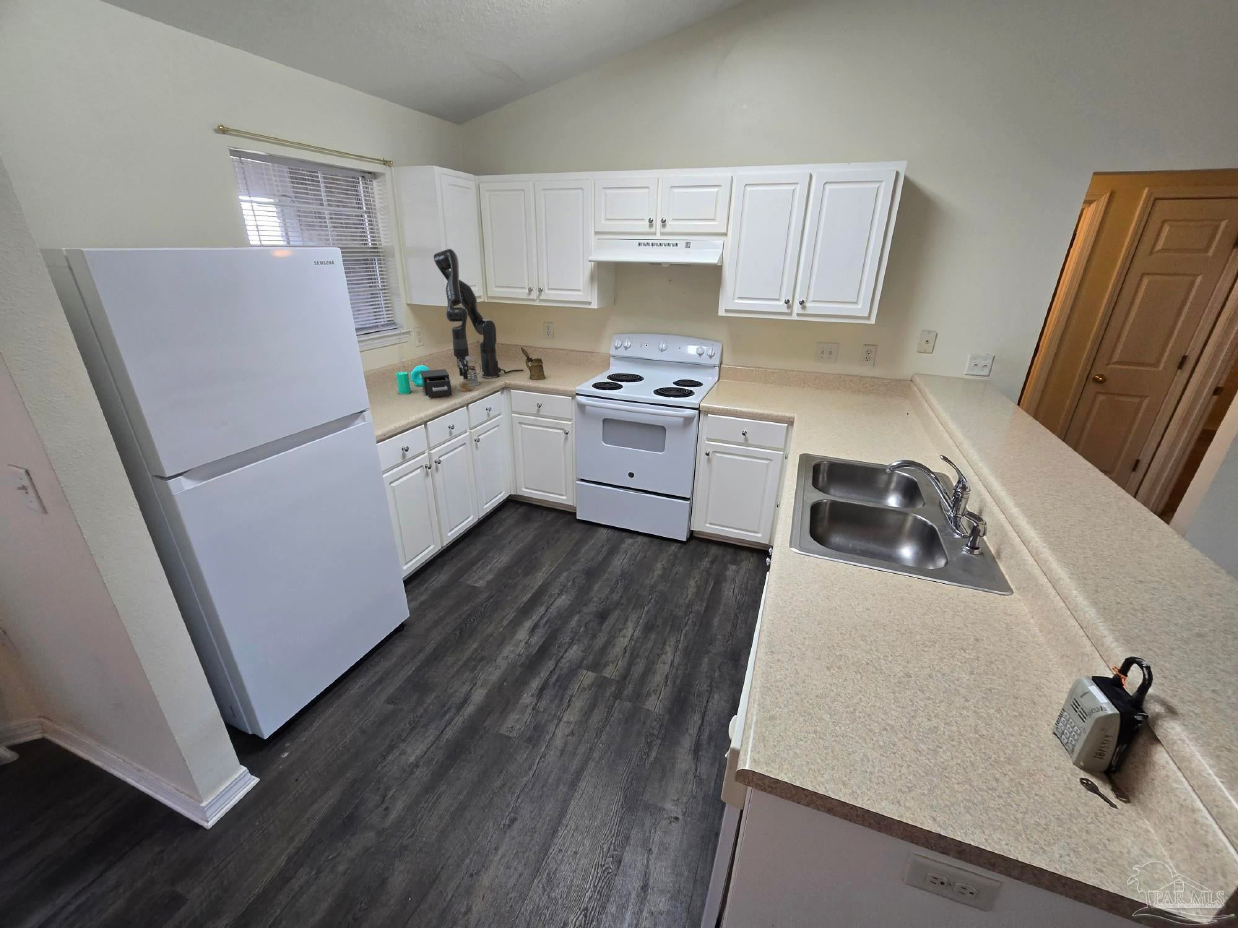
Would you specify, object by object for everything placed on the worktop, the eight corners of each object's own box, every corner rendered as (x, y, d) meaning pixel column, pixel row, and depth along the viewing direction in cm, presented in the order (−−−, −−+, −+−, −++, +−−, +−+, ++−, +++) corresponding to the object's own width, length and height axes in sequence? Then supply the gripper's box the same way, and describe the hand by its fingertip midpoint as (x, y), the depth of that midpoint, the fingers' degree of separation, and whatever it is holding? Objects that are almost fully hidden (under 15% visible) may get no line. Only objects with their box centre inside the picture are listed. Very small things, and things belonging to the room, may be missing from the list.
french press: (459, 383, 291) (454, 338, 281) (480, 380, 296) (475, 337, 286) (464, 386, 283) (458, 341, 273) (484, 384, 288) (480, 339, 279)
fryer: (451, 392, 272) (448, 374, 268) (425, 395, 267) (423, 376, 263) (447, 386, 284) (445, 369, 280) (423, 388, 279) (420, 371, 275)
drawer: (453, 397, 259) (451, 382, 256) (429, 400, 255) (427, 384, 252) (448, 389, 275) (446, 374, 272) (426, 391, 271) (423, 376, 267)
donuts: (411, 386, 283) (408, 369, 279) (414, 382, 292) (411, 365, 288) (430, 386, 284) (427, 368, 281) (432, 381, 294) (430, 364, 290)
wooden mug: (524, 376, 308) (522, 345, 301) (546, 376, 307) (545, 346, 300) (520, 379, 300) (518, 348, 293) (543, 380, 299) (541, 349, 292)
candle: (396, 393, 270) (392, 370, 265) (404, 390, 275) (401, 368, 271) (405, 394, 268) (401, 371, 263) (413, 391, 273) (410, 369, 269)
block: (468, 388, 279) (467, 380, 277) (470, 390, 275) (469, 382, 274) (460, 389, 277) (459, 381, 276) (461, 391, 274) (460, 383, 272)
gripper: (450, 345, 271) (453, 375, 278) (456, 349, 260) (460, 381, 266) (464, 344, 275) (467, 374, 281) (471, 348, 263) (474, 379, 269)
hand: (463, 377), depth 273 cm, fingers open, 8 cm apart
